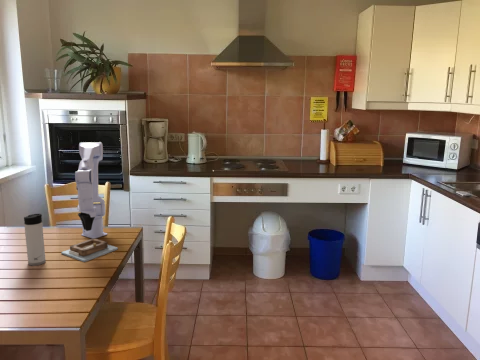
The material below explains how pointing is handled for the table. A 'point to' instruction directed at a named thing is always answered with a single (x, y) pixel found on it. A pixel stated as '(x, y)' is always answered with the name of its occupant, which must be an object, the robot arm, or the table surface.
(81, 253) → the frame
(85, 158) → the robot arm
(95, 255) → the wall board
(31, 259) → the travel mug
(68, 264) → the table surface
